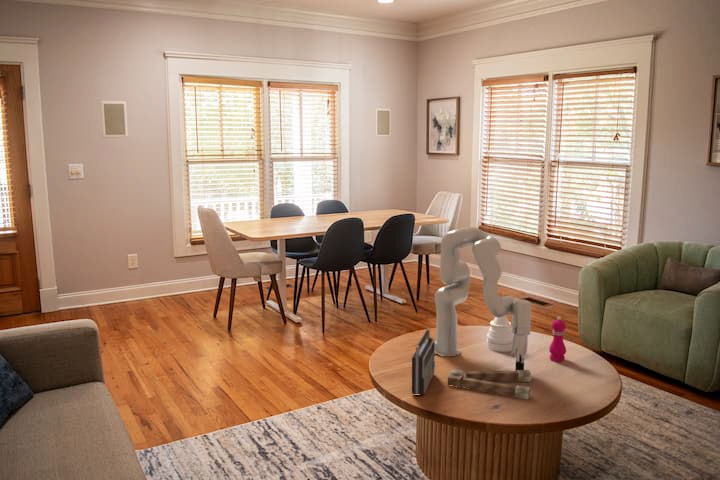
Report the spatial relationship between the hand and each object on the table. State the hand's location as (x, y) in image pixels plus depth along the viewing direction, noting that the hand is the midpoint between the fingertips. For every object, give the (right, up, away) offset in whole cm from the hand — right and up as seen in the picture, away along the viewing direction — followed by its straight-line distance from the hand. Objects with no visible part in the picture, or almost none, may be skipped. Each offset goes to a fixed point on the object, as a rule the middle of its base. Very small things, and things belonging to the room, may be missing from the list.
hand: (519, 371), depth 256 cm
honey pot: (0, +4, +33) cm, 34 cm away
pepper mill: (+21, +1, +16) cm, 27 cm away
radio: (-41, -4, -9) cm, 42 cm away
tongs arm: (-11, -2, -7) cm, 13 cm away
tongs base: (-16, -4, -14) cm, 21 cm away
